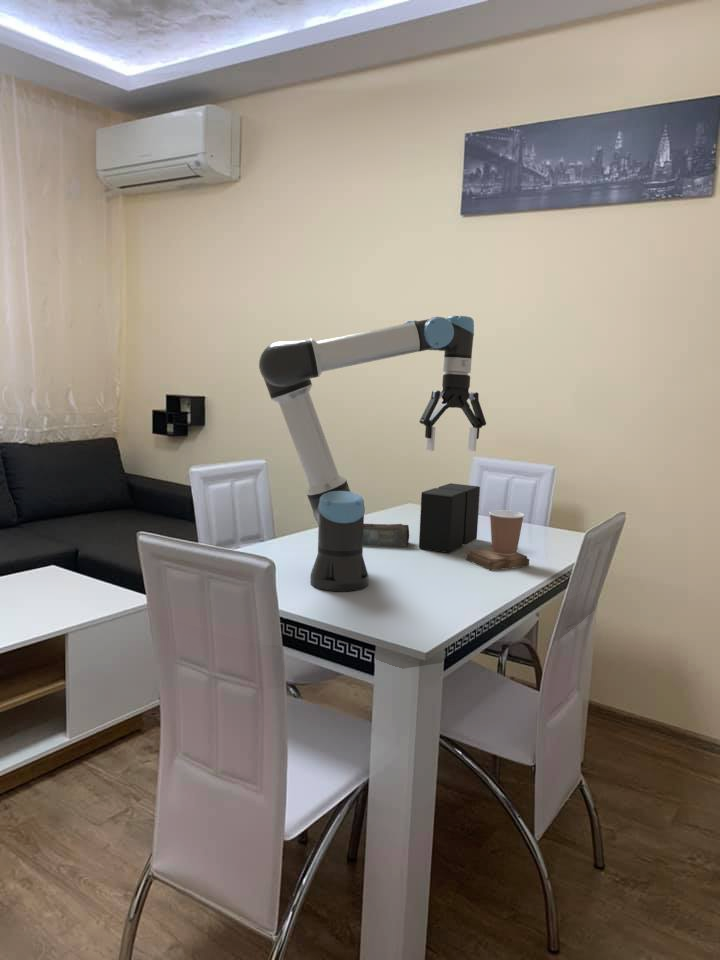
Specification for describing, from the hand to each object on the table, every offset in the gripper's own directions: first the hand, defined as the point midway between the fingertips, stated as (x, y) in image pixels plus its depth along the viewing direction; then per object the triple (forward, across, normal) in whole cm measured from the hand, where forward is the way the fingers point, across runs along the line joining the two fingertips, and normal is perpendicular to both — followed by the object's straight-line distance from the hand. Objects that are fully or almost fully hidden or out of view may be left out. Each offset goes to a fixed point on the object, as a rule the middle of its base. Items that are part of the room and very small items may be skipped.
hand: (451, 450), depth 195 cm
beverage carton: (+35, -4, +33) cm, 48 cm away
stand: (+34, +19, 0) cm, 39 cm away
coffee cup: (+31, +21, +1) cm, 38 cm away
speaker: (+34, +18, +26) cm, 47 cm away
